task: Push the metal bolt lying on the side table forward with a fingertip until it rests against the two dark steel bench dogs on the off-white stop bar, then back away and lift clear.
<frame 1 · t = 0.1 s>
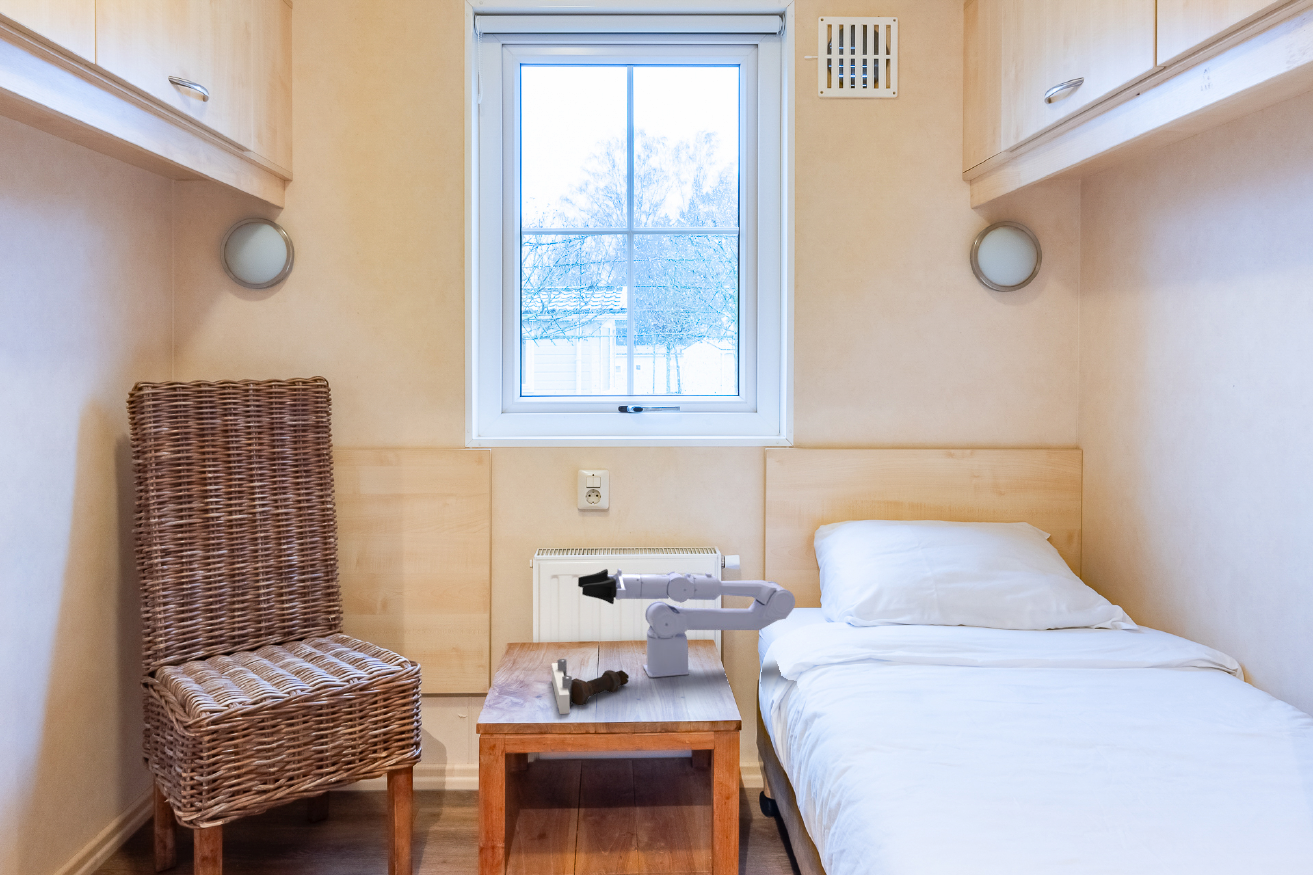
hand: (580, 585, 188), 22 cm above the table, tool horizontal, fingers open, 7 cm apart
bolt: (601, 696, 179), on the table
stop bar: (560, 695, 178), on the table
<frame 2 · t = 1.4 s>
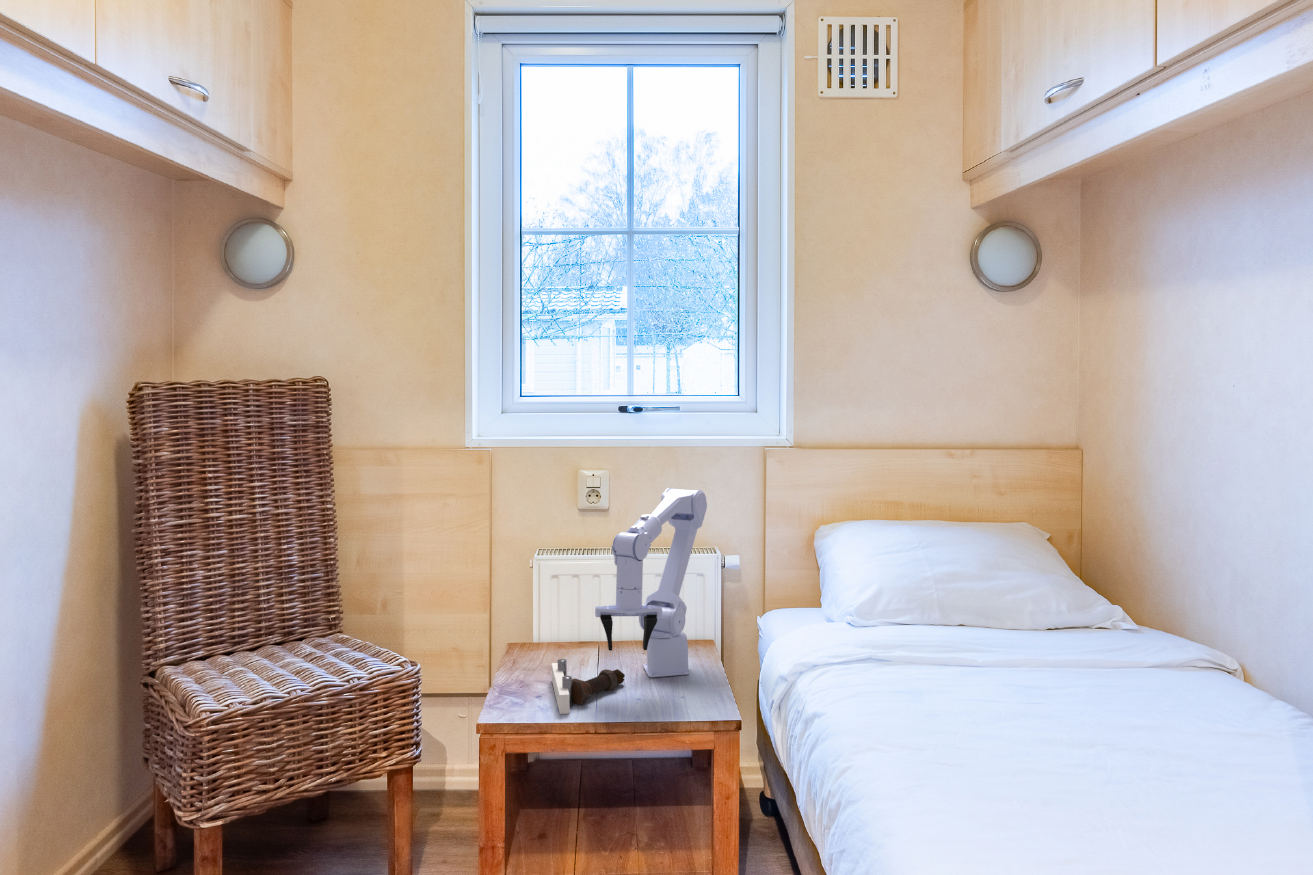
hand: (627, 649, 180), 10 cm above the table, tool pointing down, fingers open, 7 cm apart
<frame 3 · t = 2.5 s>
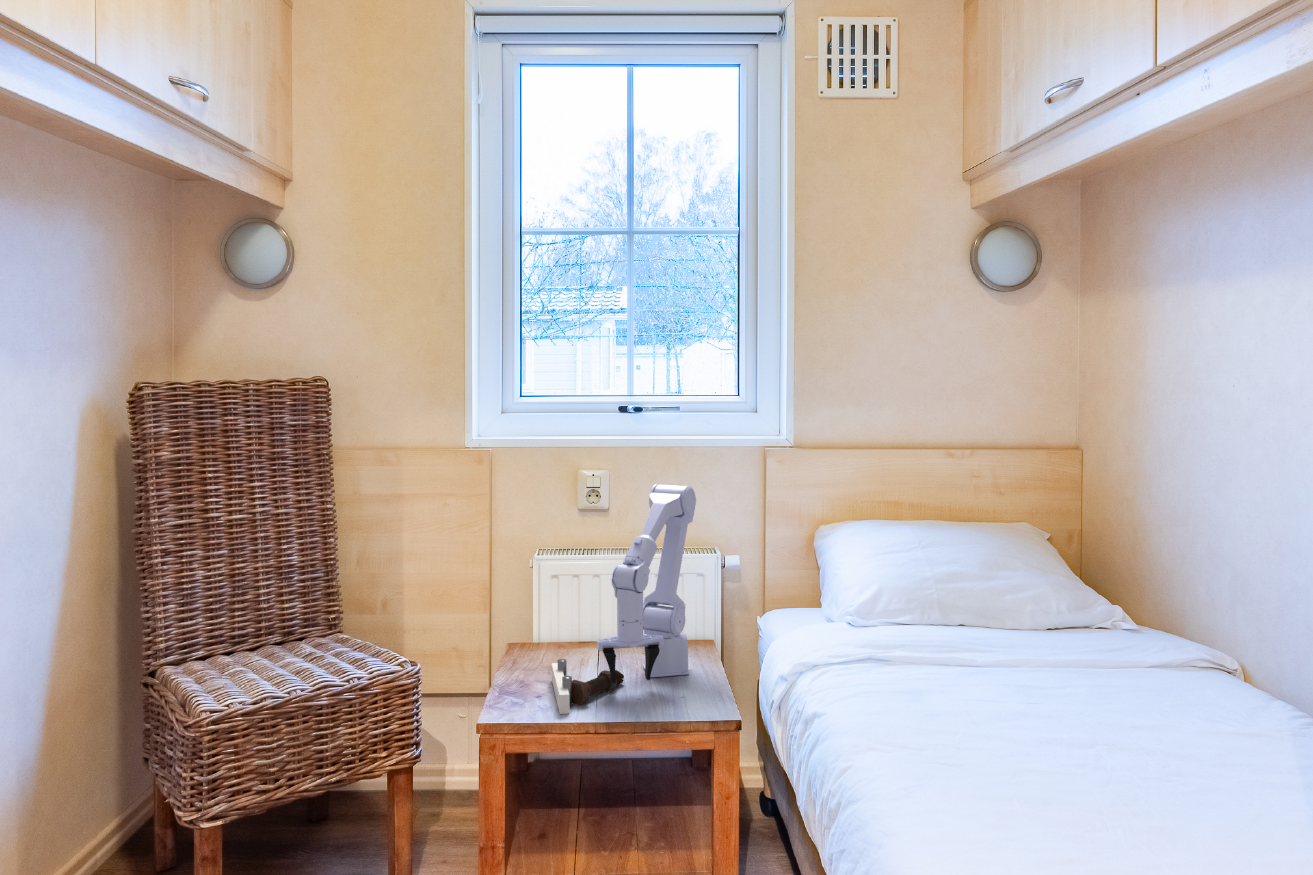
hand: (630, 679, 180), 3 cm above the table, tool pointing down, fingers open, 7 cm apart
bolt: (598, 696, 180), on the table, touching gripper, stop bar
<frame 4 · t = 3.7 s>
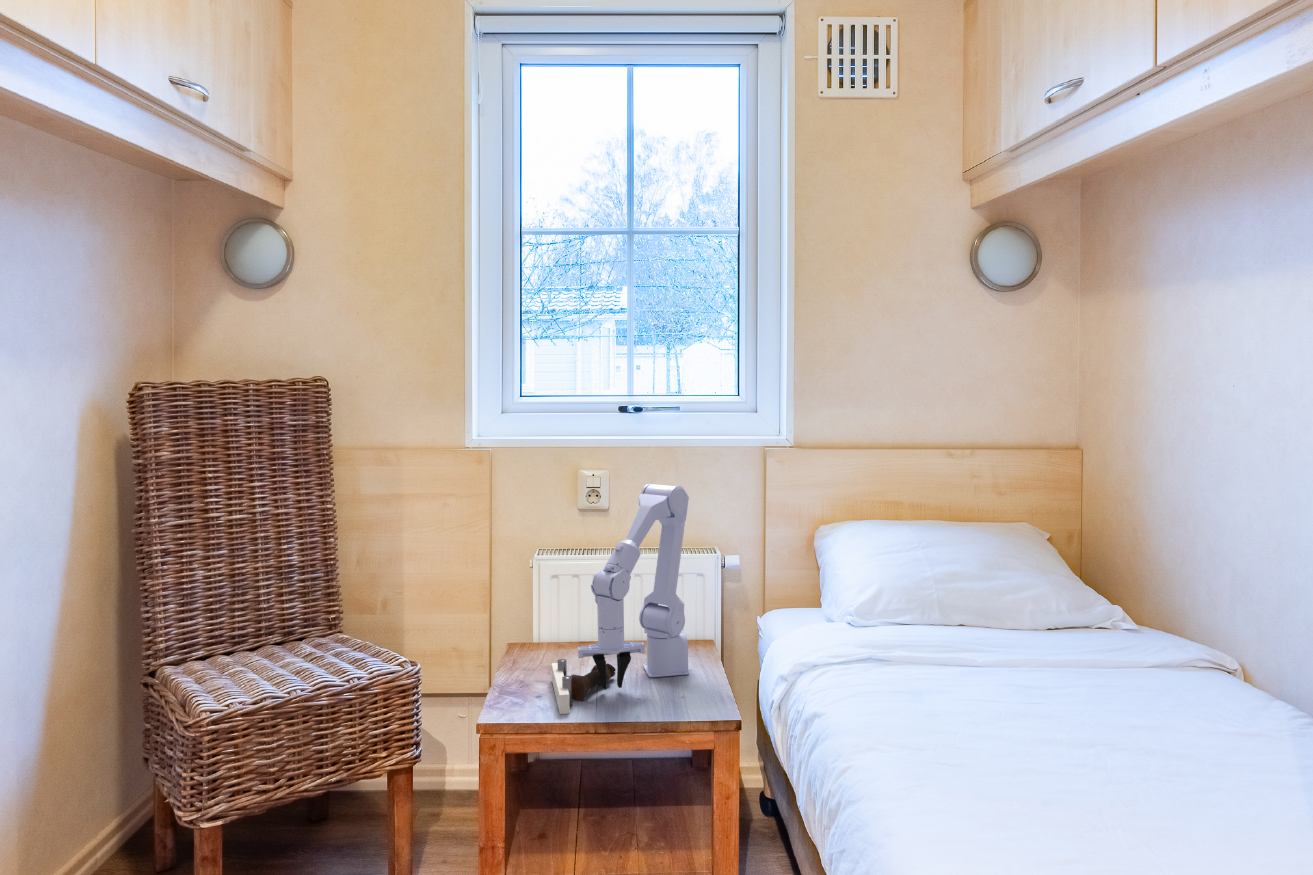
hand: (611, 686, 180), 1 cm above the table, tool pointing down, fingers open, 3 cm apart
bolt: (594, 690, 183), on the table, touching gripper, stop bar
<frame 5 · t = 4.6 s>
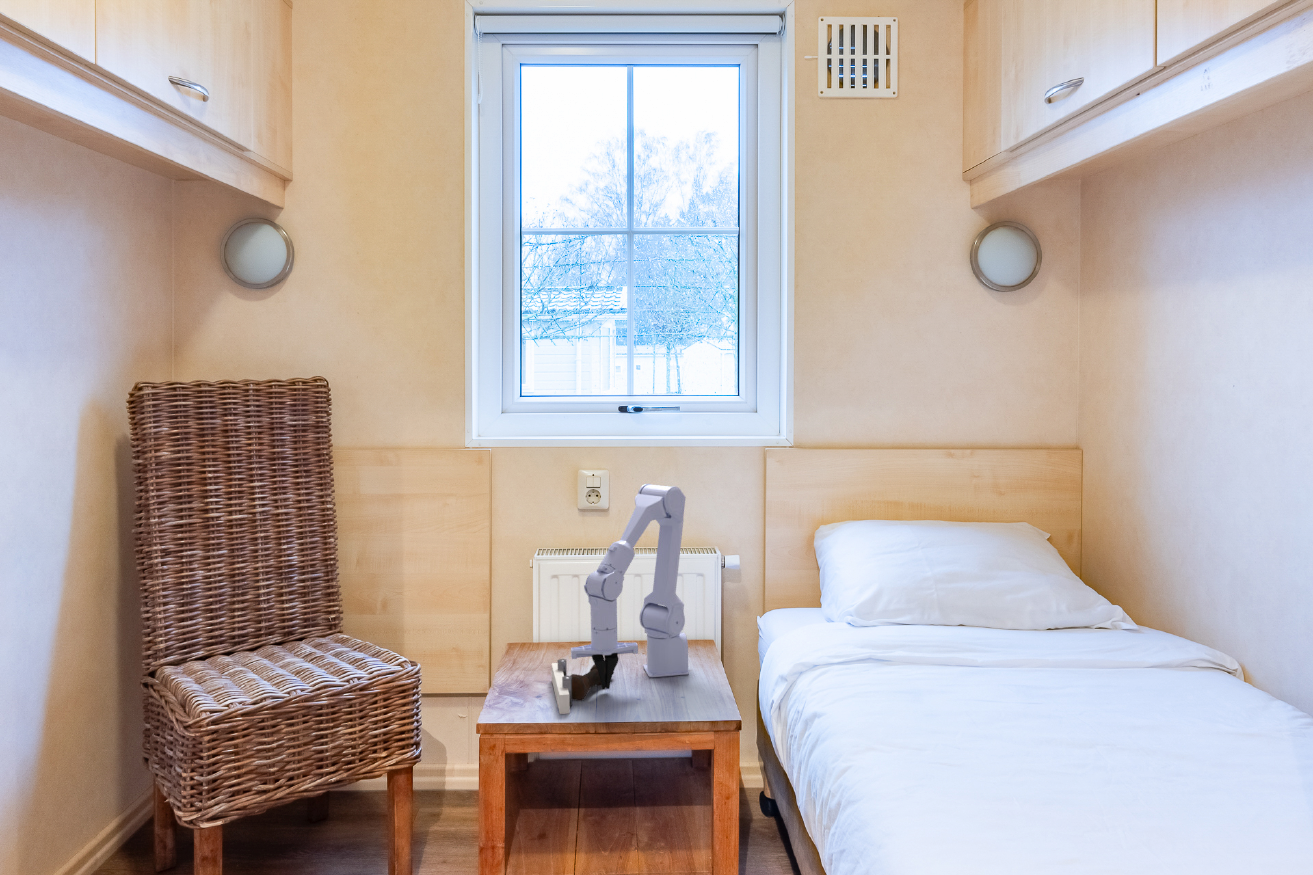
hand: (605, 687, 180), 1 cm above the table, tool pointing down, fingers closed
nothing on the table moved.
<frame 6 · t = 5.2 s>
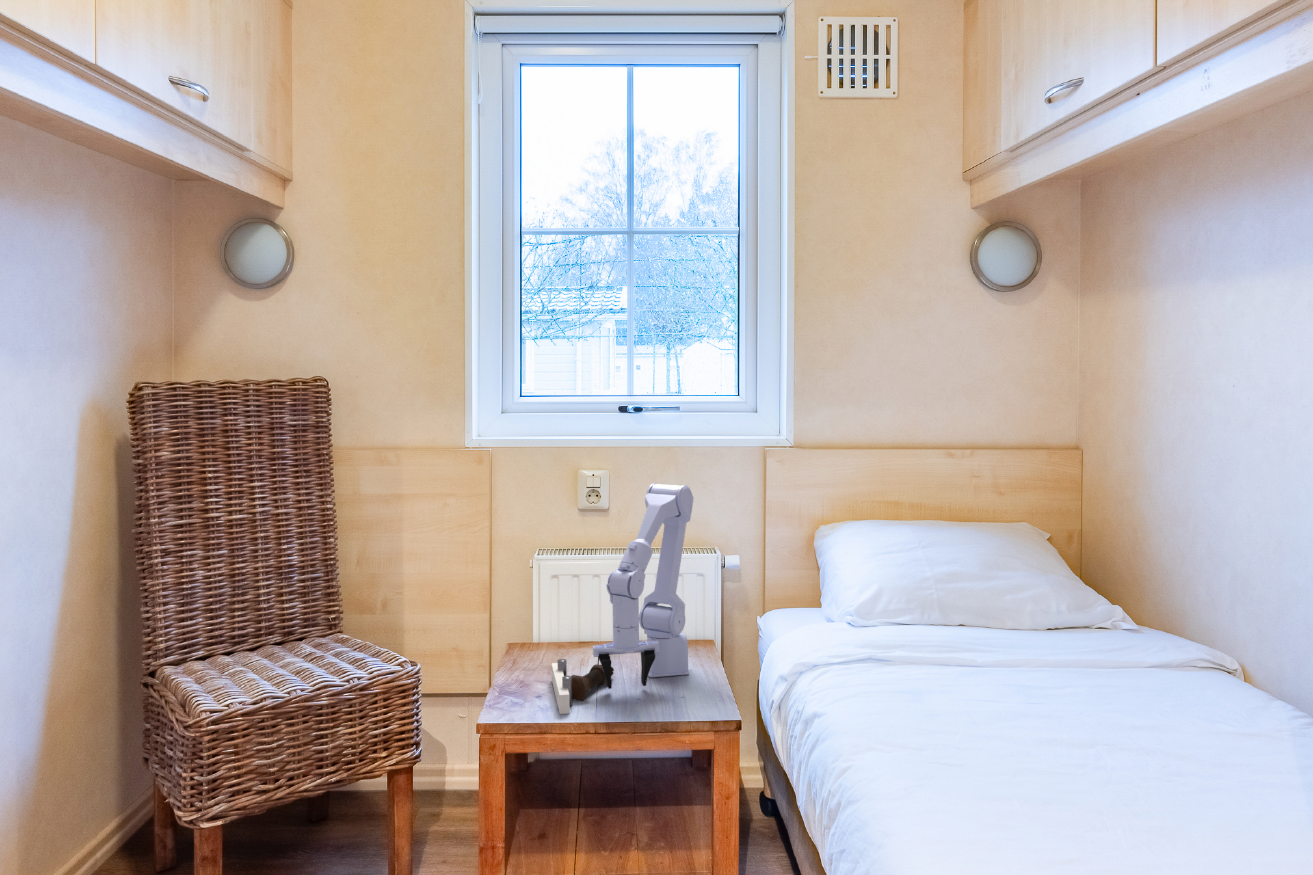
hand: (626, 685, 180), 1 cm above the table, tool pointing down, fingers open, 7 cm apart
bolt: (593, 690, 183), on the table
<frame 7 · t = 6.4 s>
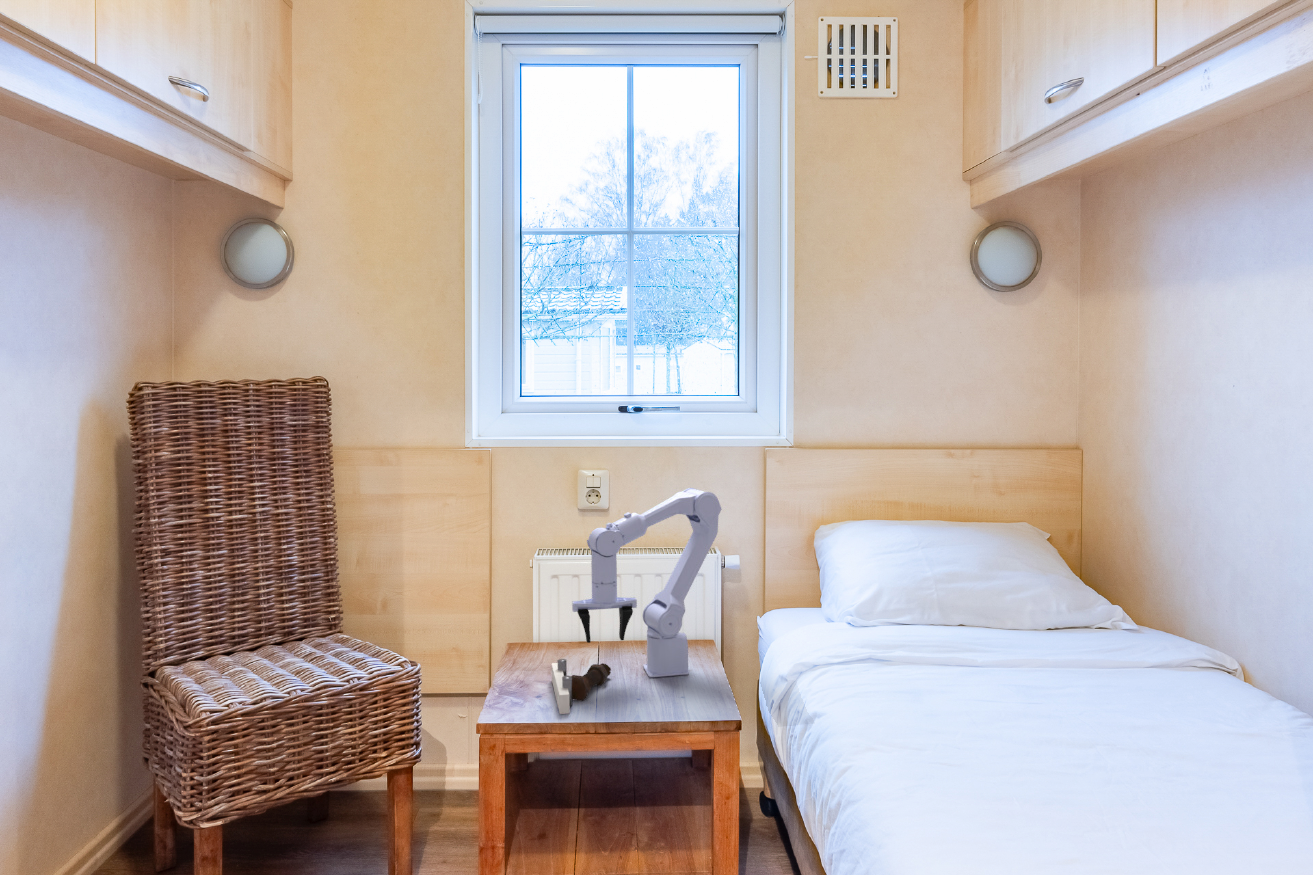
hand: (605, 640, 187), 9 cm above the table, tool pointing down, fingers open, 7 cm apart
nothing on the table moved.
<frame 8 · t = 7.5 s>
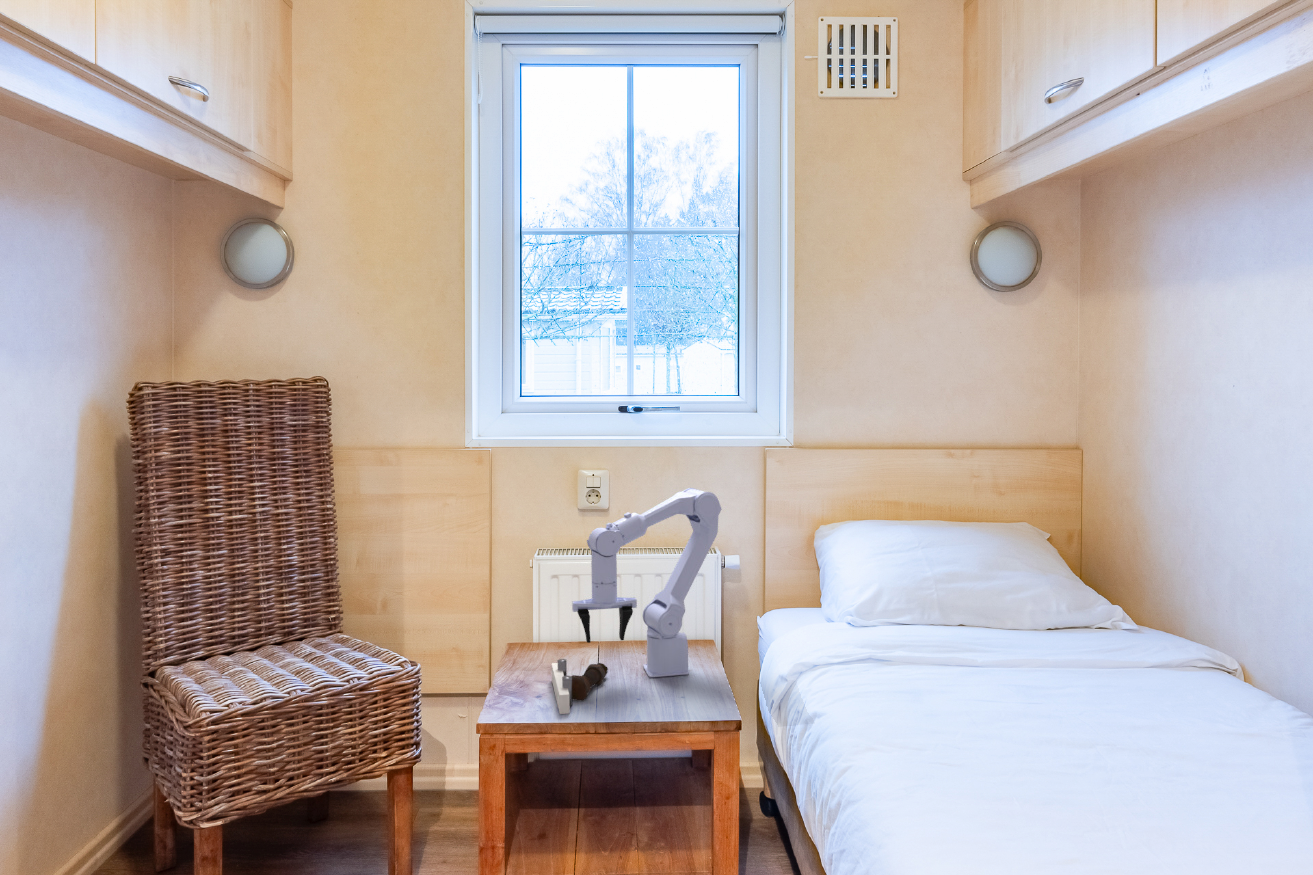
hand: (605, 640, 187), 9 cm above the table, tool pointing down, fingers open, 7 cm apart
nothing on the table moved.
at the end: bolt inside the target area (3.9 cm from its centre), on the table; bolt moved 4.7 cm from its start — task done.
